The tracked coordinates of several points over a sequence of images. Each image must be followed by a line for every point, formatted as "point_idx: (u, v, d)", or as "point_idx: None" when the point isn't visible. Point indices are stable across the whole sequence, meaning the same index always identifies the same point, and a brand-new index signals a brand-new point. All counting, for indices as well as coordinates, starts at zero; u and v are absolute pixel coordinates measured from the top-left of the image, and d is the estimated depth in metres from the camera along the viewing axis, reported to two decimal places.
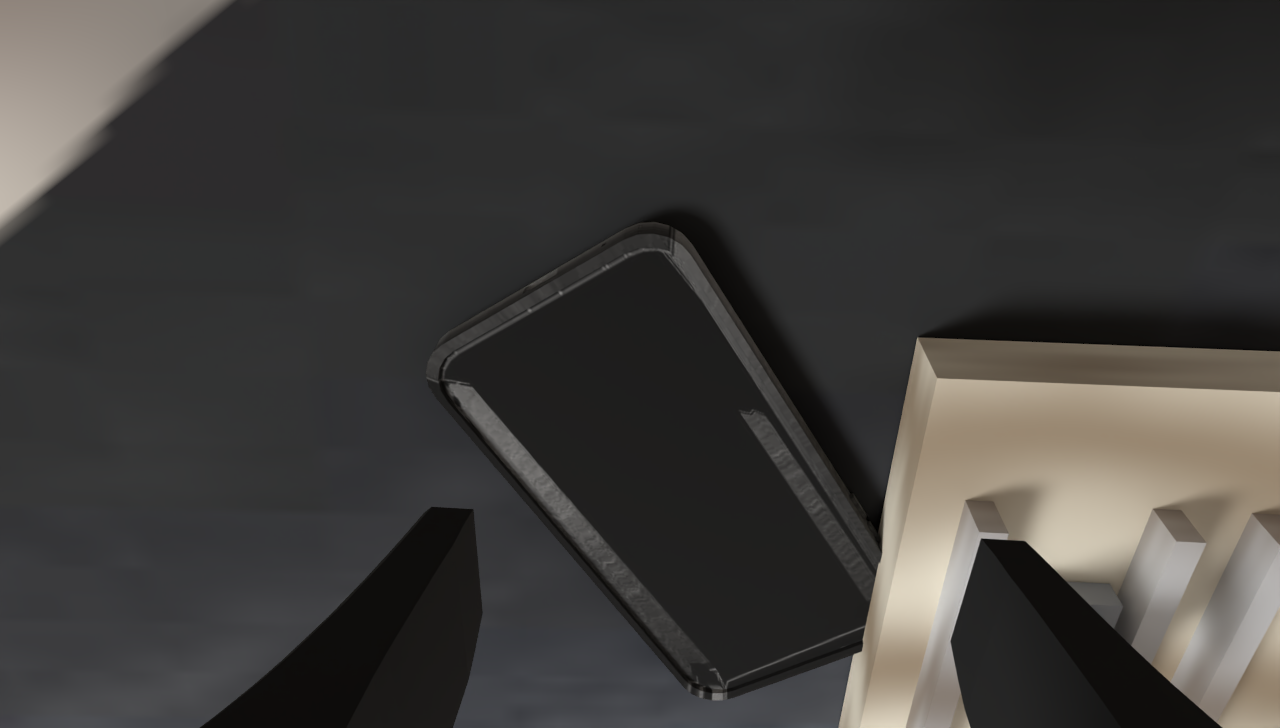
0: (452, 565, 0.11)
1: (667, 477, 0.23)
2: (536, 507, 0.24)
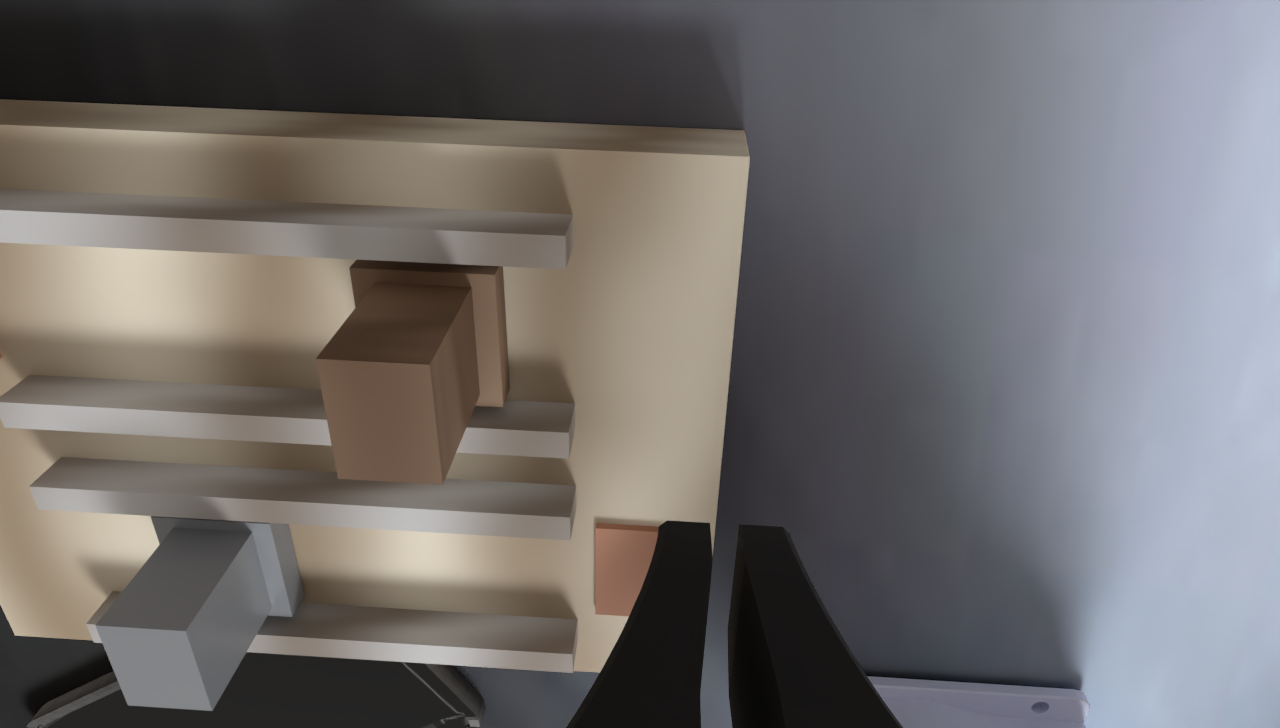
0: (709, 581, 0.11)
1: None
2: None
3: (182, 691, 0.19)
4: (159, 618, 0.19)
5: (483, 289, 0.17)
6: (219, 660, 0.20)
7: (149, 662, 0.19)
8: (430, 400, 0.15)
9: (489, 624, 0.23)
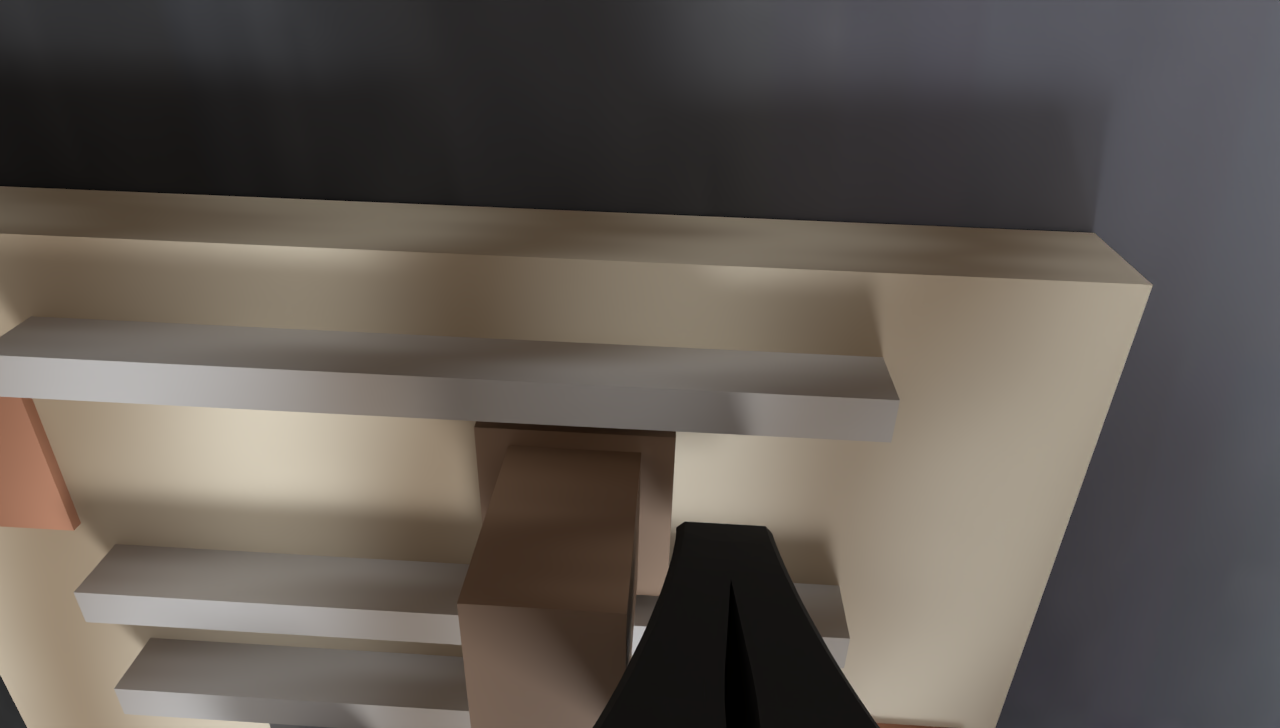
0: None
1: None
2: None
3: None
4: None
5: (657, 455, 0.13)
6: None
7: None
8: (621, 656, 0.10)
9: None
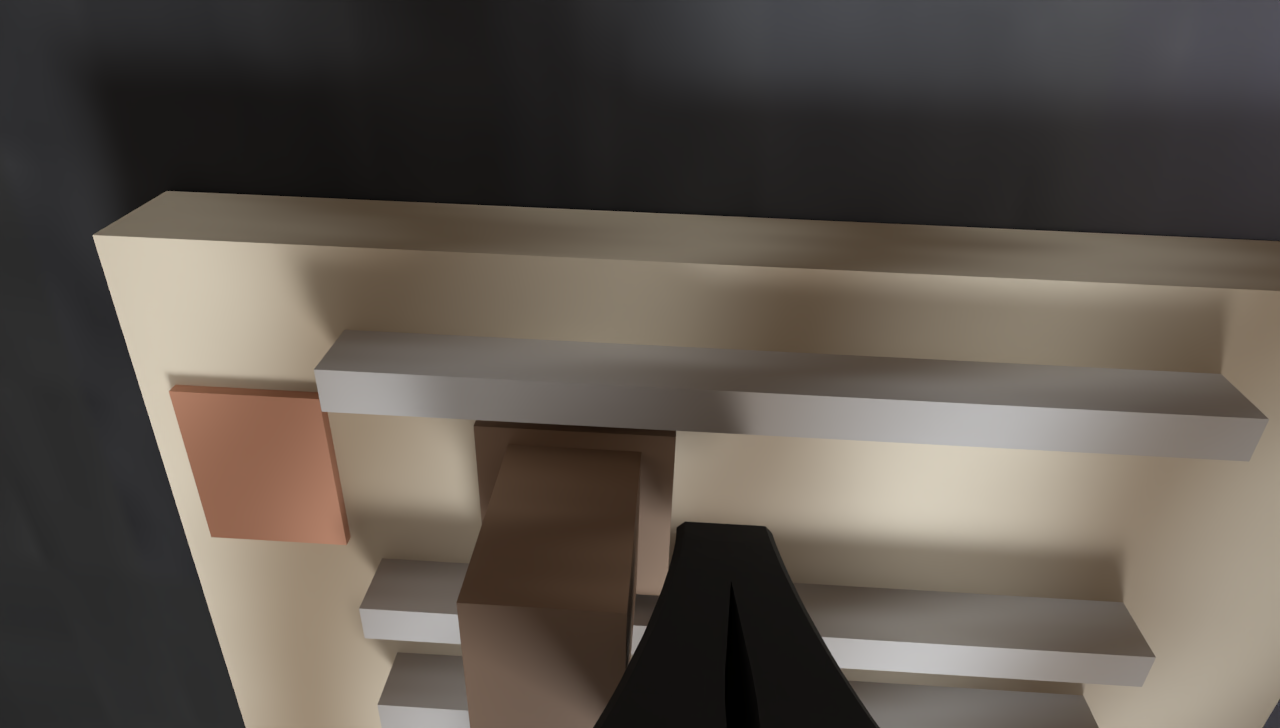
0: None
1: None
2: None
3: None
4: None
5: (657, 454, 0.13)
6: None
7: None
8: (620, 656, 0.10)
9: None
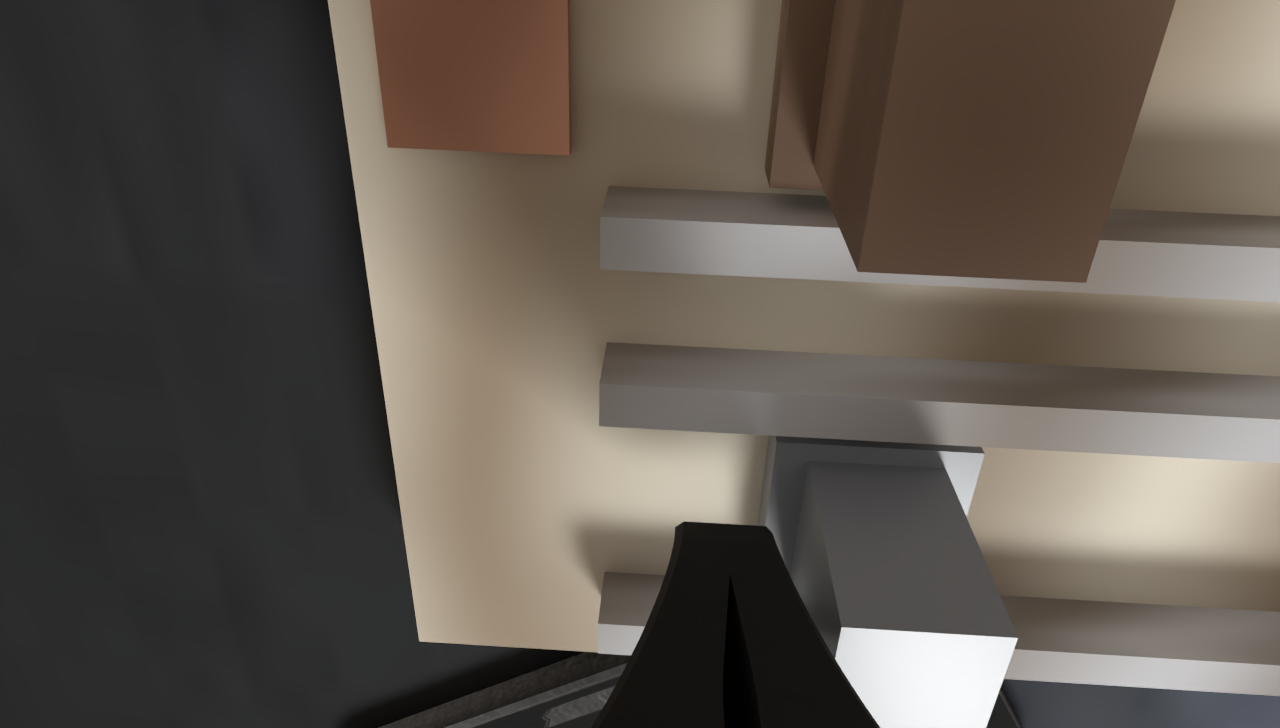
0: None
1: None
2: None
3: None
4: (947, 614, 0.10)
5: None
6: None
7: (904, 695, 0.10)
8: (1149, 59, 0.07)
9: (1231, 624, 0.14)
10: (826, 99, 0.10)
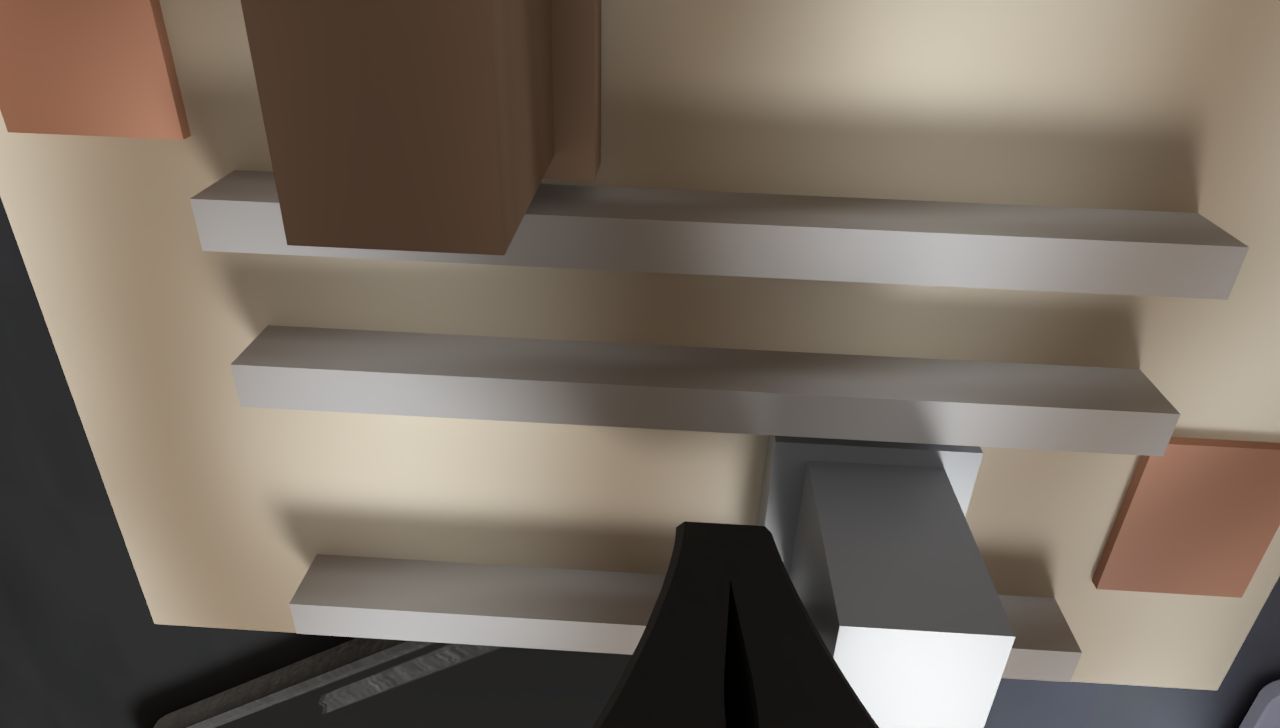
0: None
1: None
2: None
3: None
4: (945, 613, 0.10)
5: None
6: None
7: (901, 694, 0.10)
8: (484, 35, 0.07)
9: None
10: None
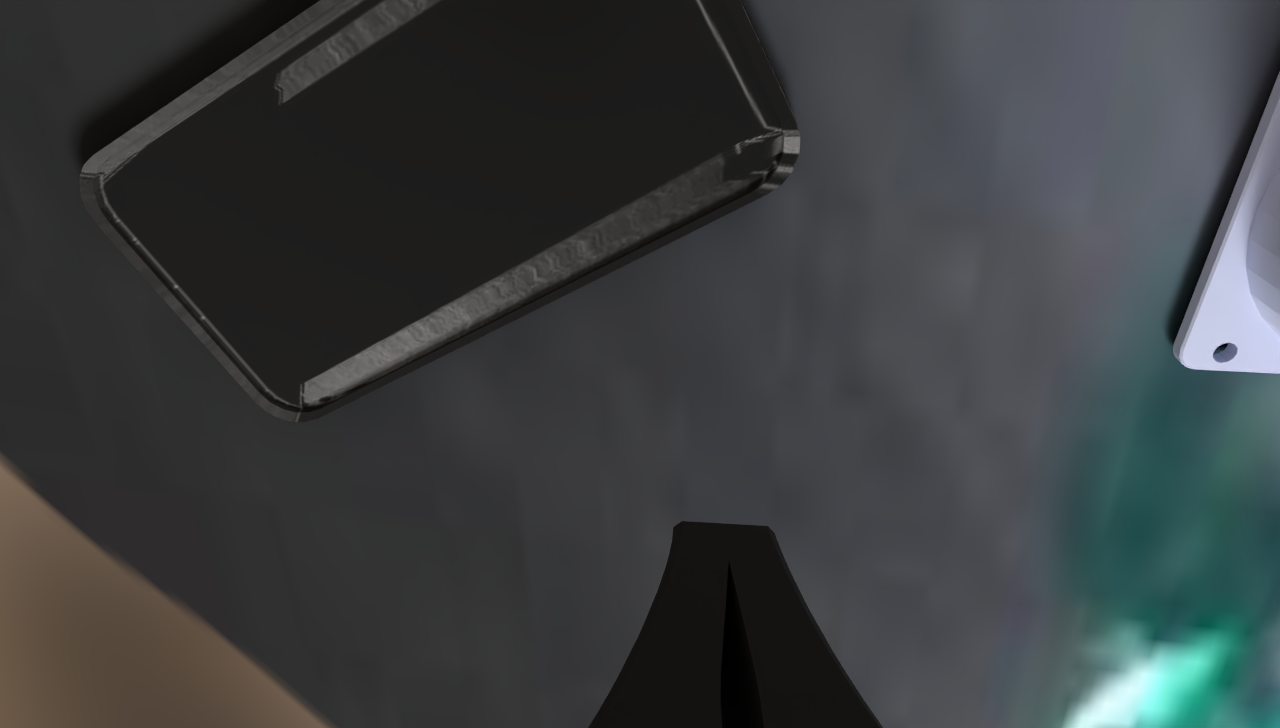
0: None
1: (392, 194, 0.19)
2: (450, 345, 0.21)
3: None
4: None
5: None
6: None
7: None
8: None
9: None
10: None
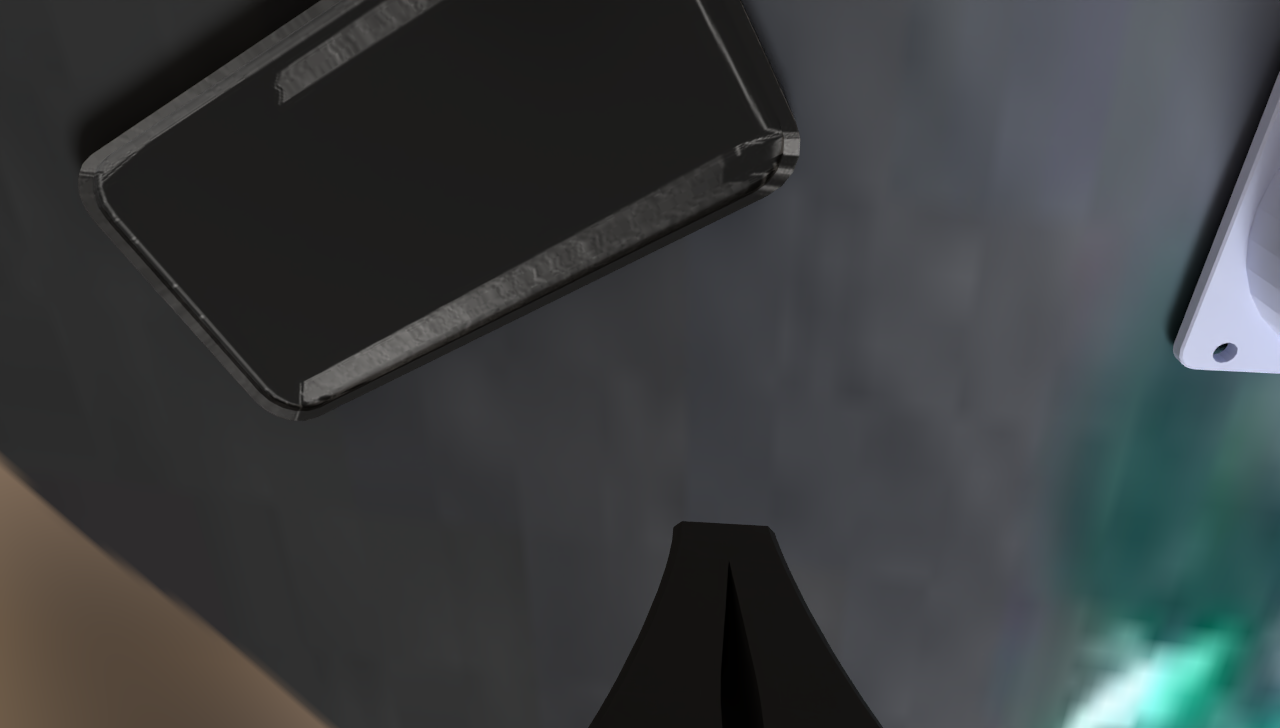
0: None
1: (392, 194, 0.19)
2: (449, 345, 0.21)
3: None
4: None
5: None
6: None
7: None
8: None
9: None
10: None
